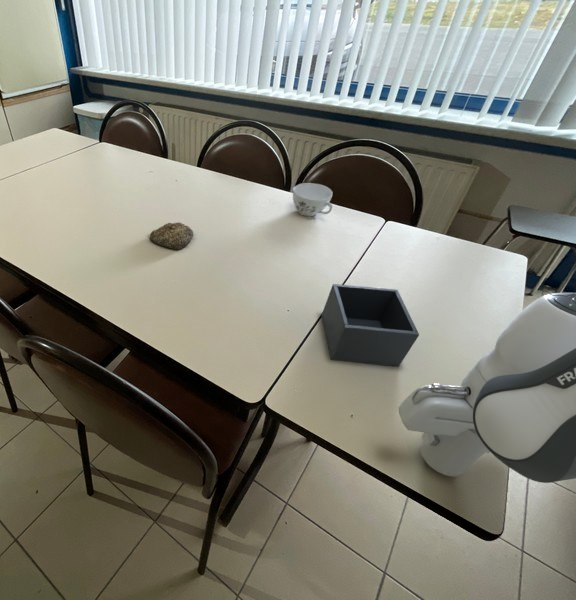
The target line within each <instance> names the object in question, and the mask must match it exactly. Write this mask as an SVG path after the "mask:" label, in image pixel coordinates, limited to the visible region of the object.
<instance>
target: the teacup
mask: <svg viewBox="0 0 576 600" xmlns="http://www.w3.org/2000/svg"><path fill="white" fill-rule="evenodd" d="M332 197H333V190H332V189H331V188H330V187H328V186H326V185H323V184H321V183H315V182H313V183H312V182H302V183H299V184H297V185H295V186H293V189H292V200H293V204H294V205H293V206H294V207H295V209H296V210H297V211H298V213H299V214H300V215H302V216H306V217H313V216H316V215H317V214H320V215H328V214H330V213H331V212H332V210H333V204H332V203H331V202H330V201H331V200H332ZM327 206H328V209H329V210H327V211H323V210H324V209H326V208H327Z"/></svg>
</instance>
